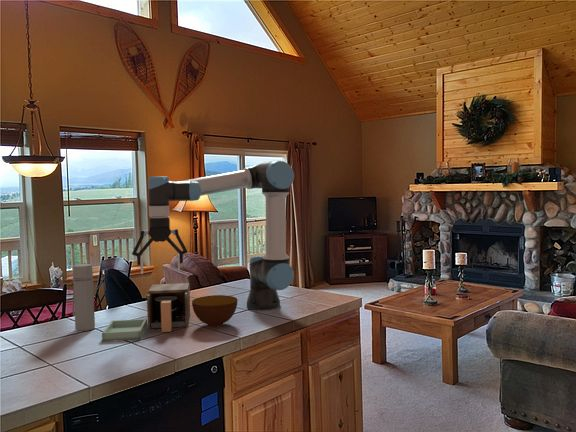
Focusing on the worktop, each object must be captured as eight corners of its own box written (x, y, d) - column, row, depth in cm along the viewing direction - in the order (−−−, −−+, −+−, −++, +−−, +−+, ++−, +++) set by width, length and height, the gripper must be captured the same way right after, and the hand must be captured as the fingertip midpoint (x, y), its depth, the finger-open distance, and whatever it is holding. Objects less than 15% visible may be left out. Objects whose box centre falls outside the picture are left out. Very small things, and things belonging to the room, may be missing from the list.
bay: (190, 315, 205) (189, 283, 204) (187, 327, 188) (186, 291, 187) (153, 317, 203) (152, 284, 202) (147, 329, 186) (146, 293, 185)
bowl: (220, 316, 203) (219, 293, 202) (247, 325, 190) (246, 299, 189) (183, 325, 190) (183, 300, 190) (210, 335, 178) (209, 308, 177)
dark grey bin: (187, 316, 203) (186, 290, 203) (183, 330, 182) (182, 302, 182) (156, 317, 202) (155, 291, 201) (149, 332, 181) (148, 303, 180)
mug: (163, 328, 188) (162, 302, 187) (150, 323, 194) (150, 298, 193) (189, 321, 196) (188, 296, 196) (176, 317, 203) (175, 293, 202)
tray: (147, 326, 190) (146, 318, 190) (140, 339, 174) (140, 331, 174) (112, 328, 188) (111, 320, 188) (102, 341, 172) (101, 333, 172)
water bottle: (100, 327, 190) (97, 264, 188) (85, 333, 182) (82, 267, 181) (81, 325, 193) (78, 263, 191) (66, 331, 185) (63, 266, 184)
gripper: (192, 215, 190) (193, 269, 191) (125, 217, 184) (127, 272, 186) (193, 216, 183) (194, 272, 184) (123, 218, 177) (125, 276, 178)
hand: (160, 272), depth 185 cm, fingers open, 13 cm apart
